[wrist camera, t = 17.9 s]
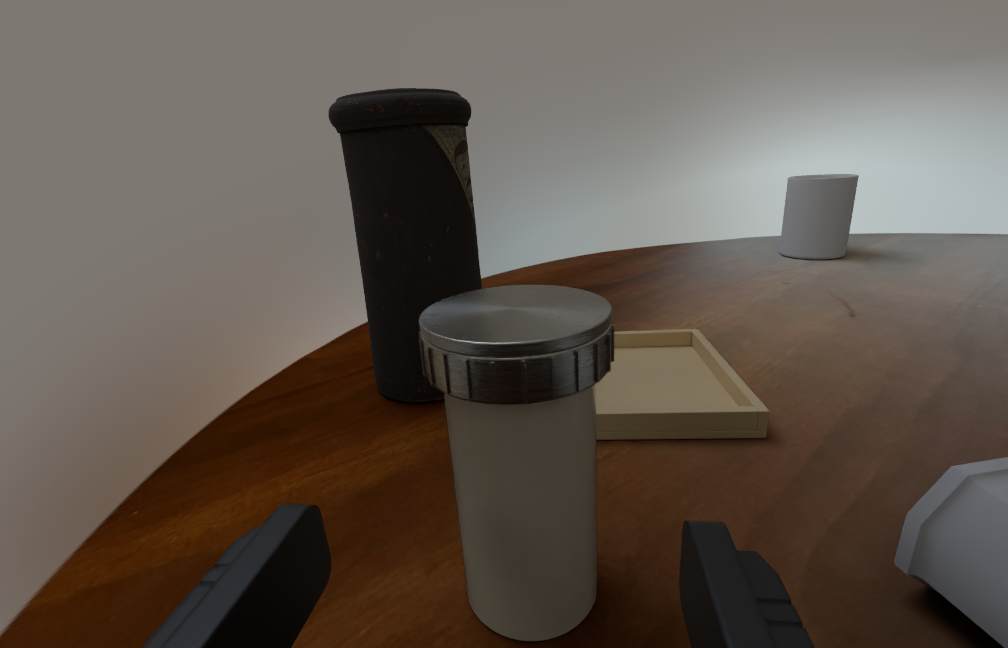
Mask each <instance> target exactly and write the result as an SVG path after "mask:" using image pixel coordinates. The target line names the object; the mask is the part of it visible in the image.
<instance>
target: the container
mask: <svg viewBox="0 0 1008 648" xmlns="http://www.w3.org/2000/svg"><path fill="white" fill-rule="evenodd" d="M470 117H471V107H470V104H469V103H468V101H467V100H466V99H464V98H462V97H461V96H460V94H458V93H457V92H454V91H449V90H441V89H416V88H399V89H386V90H378V91H371V92H364V93H356V94H351V95H346V96H343V97H340V98H338V99H337V100H336V102H335V103H334V104H333V105H331V107H330V109H329V119H330V122H331V124H332V125H333V126H334V127H335V128H336V130H337V132H338V133H340V136H341V142H342V148H343V154H344V160H345V166H346V172H347V178H348V183H349V190H350V196H351V202H352V209H353V216H354V224H355V232H356V238H357V245H358V252H359V258H360V266H361V273H362V279H363V287H364V294H365V302H366V309H367V317H368V324H369V332H370V340H371V348H372V356H373V364H374V371H375V377H376V382H377V387H378V389H379V391H380V392H381V393H382V394H383V395H385V396H387V397H389V398H391V399H395V400H399V401H405V402H427V401H436V400H441V399H444V396H443V392H441V391H440V390H438V389H437V388H435V387H434V386H431V383H430V381H429V380H428V378H427V376H425V377H424V375H423V367H422V359H421V352H420V344H419V339H420V338H419V331H420V326H419V318H420V315H421V314H422V312H423V311H424V310H425V309H426V308H428V307H429V306H431V305H433V304H434V303H436V302H438V301H441V300H443V299H446V298H448V297H451V296H454V295H458V294H461V293H465V292H470V291H474V290H480V289H482V285H481V276H480V267H479V257H478V246H477V236H476V224H475V215H474V206H473V196H472V188H471V178H470V167H469V156H468V145H467V138H466V129H465V127H466V126H468V121H469V119H470Z"/></svg>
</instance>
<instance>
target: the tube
mask: <svg viewBox="0 0 1008 648" xmlns="http://www.w3.org/2000/svg"><path fill="white" fill-rule="evenodd" d="M894 564H895V565H896V566H897V567H898V568H900V569H901V570H902V571H903V572H904V573H906V574H907V575H908V576H910V577H912V578H914V579H916V580H917V581H919V582H921V583H923V584H925V585H926V586H928V587H930V588H932V589H933V590H935V591H937V592H939V593H940V594H941V595H942V596H944V597H945V598H946V599H947V600H948V601H950V602H951V603H952V604H953V605H954V606H956V607H957V608H958V609H959V610H960V611H961V612H963V613H964V614H965V615H966V616H967V617H969V618H970V619H971V620H972V621H973V622H974V623H976V624H977V625H978V626H979V627H980V628H982V629H983V630H984V631H985V632H986V633H988V634H989V635H990V636H991V637H992V638H993V639H995V640H996V641H997V642H998V643H999V644H1001V645H1002V646H1003V647H1004V648H1008V457H1005V458H999V459H993V460H987V461H981V462H975V463H969V464H963V465H957V466H951V467H950V468H949V469H948V470H947V471H946V473H945V474H944V475H943V476H942V477H941V478H940V479H939V480H938V481H937V482H936V483H935V484H934V485H933V486H932V487H931V488H930V489H929V491H928V492H927V493H926V494H925V495H924V496H923V497H922V498H921V499H920V500H919V501H918V502H917V503H916V504H915V505H914V506H913V507H912V509H911V510H910V511H909V512H908V513H907V515H906V519H905V522H904V526H903V530H902V534H901V537H900V541H899V545H898V549H897V552H896V556H895V560H894Z"/></svg>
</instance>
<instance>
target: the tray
mask: <svg viewBox="0 0 1008 648" xmlns="http://www.w3.org/2000/svg"><path fill="white" fill-rule="evenodd" d="M596 416H597V440H622V439H715V438H766V436H767V427H768V419H769V410H768V409H767V408H766V407H765V405H764V404H763V403H762V402H761V401H760V400H759V399H758V397H757V396H756V395H755V394H754V393H753V392H752V391H751V389H750V388H749V387H748V386H747V385H746V384H745V383H744V381H743V380H742V379H741V378H740V377H739V376H738V375H737V373H736V372H735V371H734V370H733V369H732V368H731V367H730V365H729V364H728V363H727V362H726V361H725V360H724V359H723V357H722V356H721V355H720V354H719V353H718V352H717V351H716V349H715V348H714V347H713V346H712V345H711V344H710V343H709V341H708V340H707V339H706V338H705V337H704V336H703V335H702V333H701V332H700V331H699V330H698V329H681V330H651V331H620V332H614V362H611V371H610V372H608V373H607V374H606V375H605V376H604V377H603V379H601V380H600V382H598V383H596Z"/></svg>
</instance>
